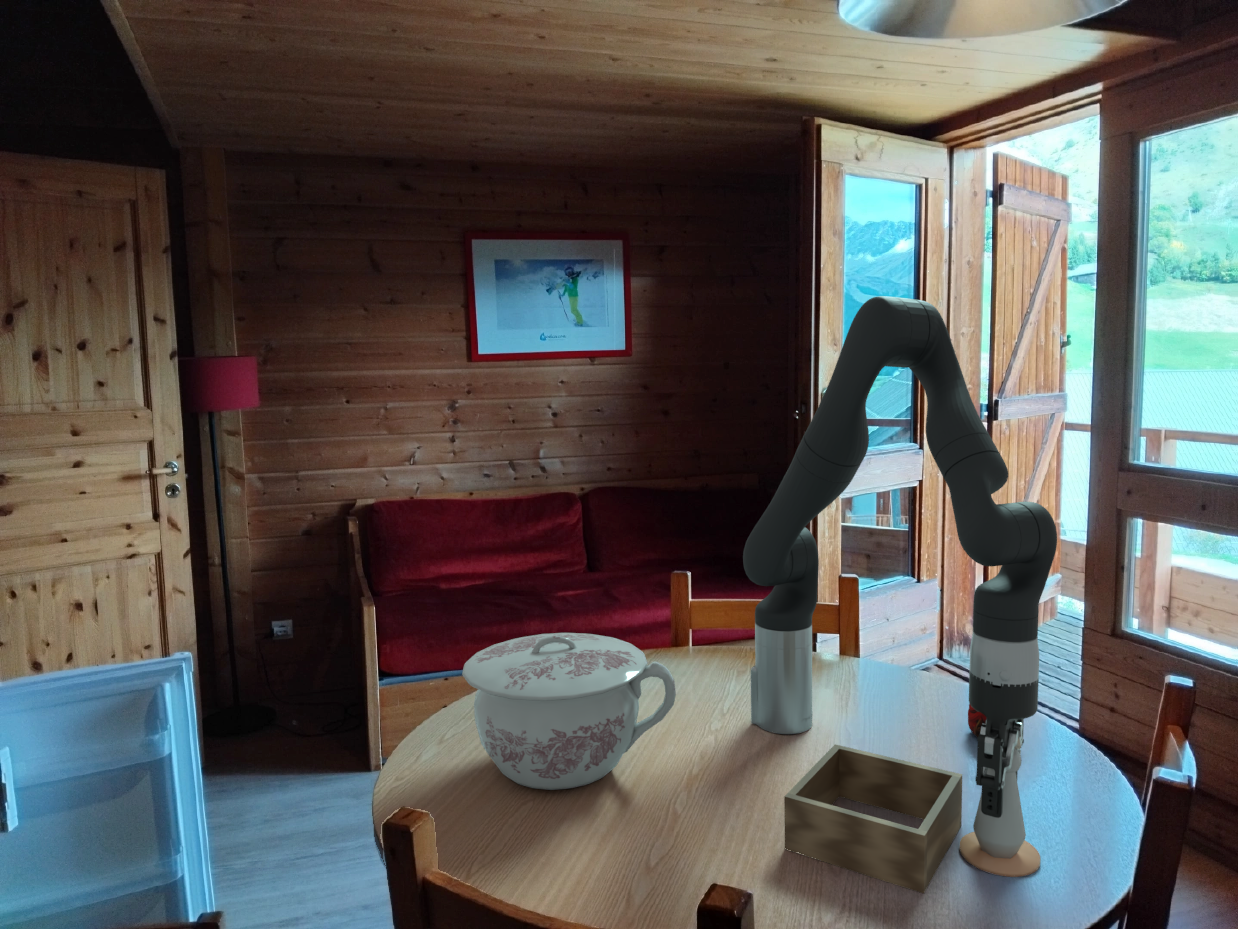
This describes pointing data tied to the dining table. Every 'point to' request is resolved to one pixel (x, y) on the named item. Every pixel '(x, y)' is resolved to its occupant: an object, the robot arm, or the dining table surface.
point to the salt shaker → (1003, 818)
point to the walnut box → (867, 838)
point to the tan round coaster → (1017, 866)
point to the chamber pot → (561, 705)
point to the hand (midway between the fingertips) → (999, 799)
